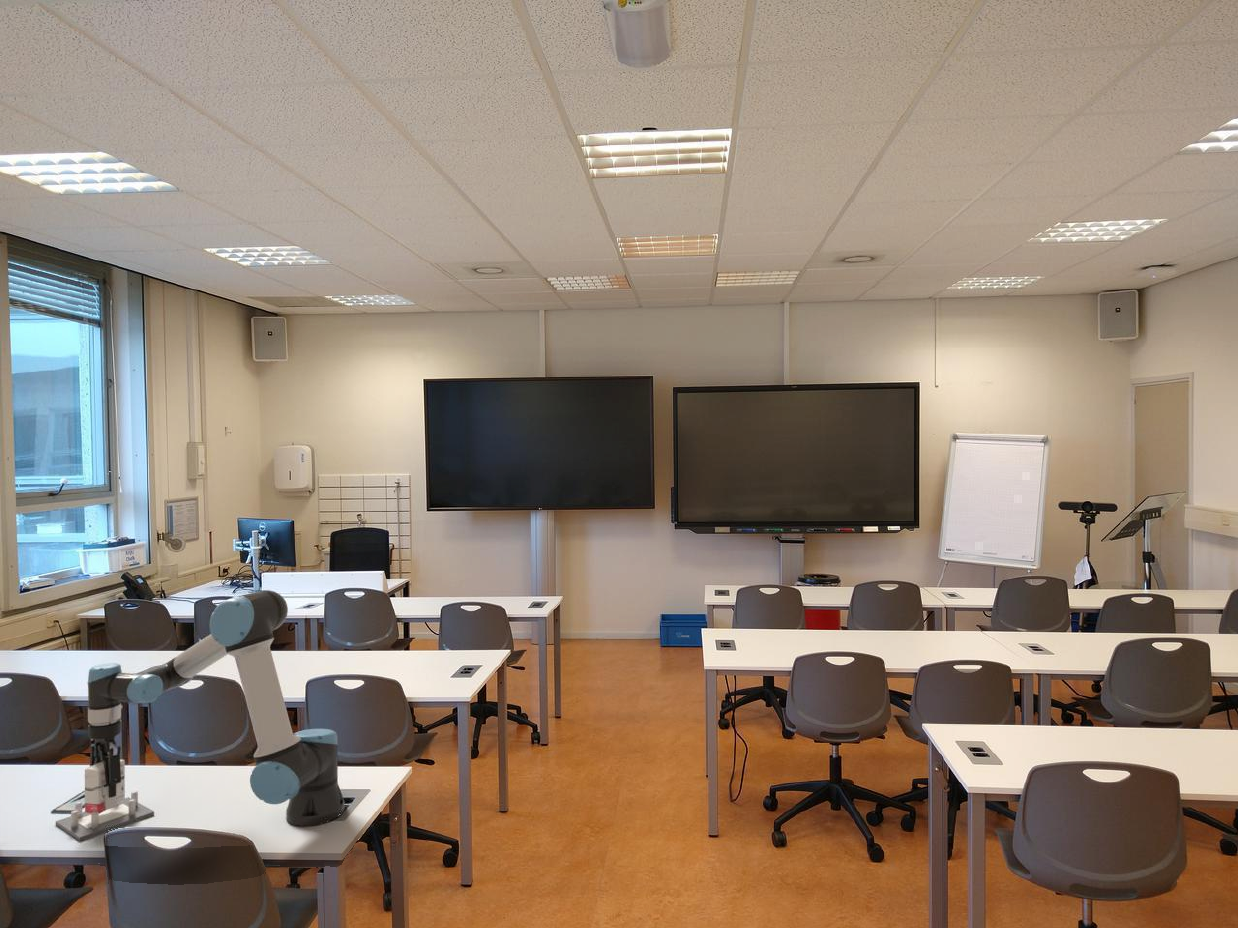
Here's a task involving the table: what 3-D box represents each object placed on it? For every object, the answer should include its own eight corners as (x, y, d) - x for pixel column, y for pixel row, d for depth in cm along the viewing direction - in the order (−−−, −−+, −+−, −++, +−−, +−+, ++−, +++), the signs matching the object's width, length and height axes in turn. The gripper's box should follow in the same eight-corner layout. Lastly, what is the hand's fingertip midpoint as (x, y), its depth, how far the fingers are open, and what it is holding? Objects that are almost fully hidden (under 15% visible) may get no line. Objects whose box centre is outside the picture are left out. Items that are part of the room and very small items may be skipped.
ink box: (98, 814, 205) (98, 770, 205) (83, 812, 206) (83, 769, 206) (125, 800, 213) (125, 758, 213) (111, 798, 214) (111, 757, 214)
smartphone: (48, 811, 214) (87, 787, 229) (49, 815, 214) (87, 791, 229) (74, 812, 214) (111, 788, 229) (74, 815, 214) (111, 791, 229)
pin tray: (154, 814, 212) (153, 796, 212) (79, 841, 198) (79, 822, 198) (128, 800, 222) (128, 783, 222) (55, 824, 207) (55, 806, 207)
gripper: (135, 724, 207) (135, 808, 207) (105, 710, 218) (105, 791, 218) (104, 732, 201) (104, 819, 201) (74, 718, 212) (75, 800, 212)
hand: (105, 804), depth 210 cm, fingers closed on ink box, 6 cm apart
